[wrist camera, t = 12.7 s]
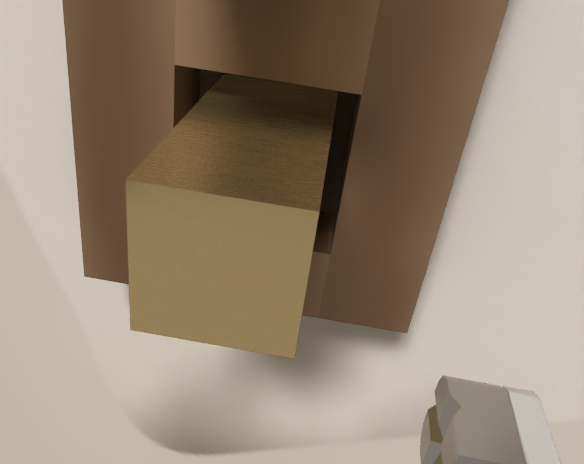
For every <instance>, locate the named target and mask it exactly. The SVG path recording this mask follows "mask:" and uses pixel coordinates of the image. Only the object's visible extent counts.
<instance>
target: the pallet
mask: <svg viewBox="0 0 584 464" xmlns="http://www.w3.org/2000/svg"><path fill="white" fill-rule="evenodd" d="M508 2H509V0H63V13H64V25H65V38H66V50H67V63H68V75H69V88H70V101H71V113H72V126H73V138H74V151H75V164H76V176H77V189H78V201H79V214H80V226H81V239H82V252H83V264H84V276H85V277H91V278H96V279H102V280H108V281H113V282H119V283H125V284H129V270H128V240H127V211H126V182H125V180H126V179H127V178H128V177H129V175H130V174H131V173H132V172H133V171H134V170H135V169H136V168H137V167H138V166H139V165H140V164H141V163H142V161H143V160H144V159H145V158H146V157H147V156H148V155H149V154H150V153H151V152H152V151H153V150H154V149H155V147H156V146H157V145H158V144H159V143H160V142H161V141H162V140H163V139H164V138H165V137H166V136H167V135H168V134H169V132H170V131H171V130H172V129H173V128H174V127H175V126H176V125H177V124H178V123H179V122H180V121H181V120H182V118H183V117H184V116H185V115H186V114H187V113H188V112H189V111H190V110H191V109H192V108H193V107H194V106H195V105H196V103H197V102H198V101H199V89H200V69H204V70H210V71H216V72H223V73H229V74H235V75H241V76H248V77H254V78H260V79H266V80H272V81H279V82H285V83H291V84H297V85H304V86H310V87H316V88H322V89H329V90H335V91H341V92H347V93H353V94H358V95H357V100H356V105H355V110H354V116H353V121H352V126H351V131H350V136H349V142H348V147H347V152H346V157H345V163H344V168H343V173H342V178H341V184H340V189H339V194H338V199H337V204H336V210H335V214H334V213H328V212H322V211H319V217H318V223H317V229H316V235H315V241H314V246H313V252H312V258H311V264H310V270H309V276H308V282H307V288H306V293H305V299H304V305H303V311H302V315H306V316H312V317H318V318H323V319H329V320H335V321H340V322H346V323H352V324H357V325H363V326H369V327H374V328H380V329H386V330H391V331H397V332H403V333H407V331H408V328H409V325H410V322H411V318H412V315H413V312H414V309H415V305H416V302H417V299H418V295H419V292H420V289H421V286H422V282H423V279H424V276H425V273H426V269H427V266H428V263H429V260H430V256H431V253H432V250H433V247H434V243H435V240H436V237H437V234H438V230H439V227H440V224H441V220H442V217H443V214H444V211H445V207H446V204H447V201H448V198H449V194H450V191H451V188H452V185H453V181H454V178H455V175H456V172H457V168H458V165H459V162H460V158H461V155H462V152H463V149H464V145H465V142H466V139H467V136H468V132H469V129H470V126H471V123H472V119H473V116H474V113H475V110H476V106H477V103H478V100H479V97H480V93H481V90H482V87H483V83H484V80H485V77H486V74H487V70H488V67H489V64H490V61H491V57H492V54H493V51H494V48H495V44H496V41H497V38H498V35H499V31H500V28H501V25H502V21H503V18H504V15H505V12H506V8H507V5H508Z"/></svg>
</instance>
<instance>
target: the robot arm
mask: <svg viewBox="0 0 584 464" xmlns="http://www.w3.org/2000/svg"><path fill="white" fill-rule="evenodd" d="M435 399H436V405H435V406H433V407H432V408H430V409H428V411H427V414H426V417H425V420H424V423H423V428H422V434H421V446H420V455H421V464H561V461H560V459H559V456H558V452H557V449H556V447H555V444H554V441H553V438H552V435H551V432H550V429H549V426H548V423H547V420H546V417H545V414H544V411H543V408H542V405H541V402H540V399H539V397H538V395H537V394H536V393H535V392H533V391H527V390H522V389H516V388H510V387H505V386H503V387H501V386H498V385H492V384H487V383H481V382H476V381H471V380H465V379H460V378H454V377H449V376H444V375H443V376H442V377H441V379H440V380H439V382H438V384H437V387H436V389H435Z"/></svg>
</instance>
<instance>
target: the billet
mask: <svg viewBox="0 0 584 464" xmlns="http://www.w3.org/2000/svg"><path fill="white" fill-rule="evenodd" d="M337 97H338V91H331V90H325V89H319V88H312V87H306V86H300V85H293V84H287V83H280V82H274V81H268V80H261V79H255V78H248V77H242V76H236V75H229V74H223V75H222V77H221V78H220V79H219V80H218V81H217V82H216V83H215V84H214V85H213V86H212V87H211V88H210V89H209V91H208V92H207V93H206V94H205V95H204V96H203V97H202V98H201V99H200V100H199V101H198V102H197V103H196V105H195V106H194V107H193V108H192V109H191V110H190V111H189V112H188V113H187V114H186V115H185V116H184V117H183V118H182V120H181V121H180V122H179V123H178V124H177V125H176V126H175V127H174V128H173V129H172V130H171V131H170V132H169V134H168V135H167V136H166V137H165V138H164V139H163V140H162V141H161V142H160V143H159V144H158V145H157V146H156V147H155V149H154V150H153V151H152V152H151V153H150V154H149V155H148V156H147V157H146V158H145V159H144V160H143V161H142V163H141V164H140V165H139V166H138V167H137V168H136V169H135V170H134V171H133V172H132V173H131V174H130V175H129V177H128V178H127V179H126V180H125V182H126V211H127V240H128V270H129V299H130V328H131V330H134V331H139V332H145V333H151V334H156V335H162V336H168V337H173V338H179V339H185V340H190V341H196V342H202V343H207V344H213V345H219V346H224V347H230V348H236V349H242V350H247V351H253V352H259V353H264V354H270V355H276V356H281V357H287V358H293V359H294V358H295V352H296V346H297V340H298V335H299V329H300V323H301V317H302V311H303V305H304V299H305V293H306V288H307V282H308V276H309V270H310V264H311V258H312V252H313V246H314V241H315V235H316V229H317V223H318V217H319V211H320V205H321V198H322V192H323V186H324V179H325V173H326V167H327V160H328V154H329V148H330V141H331V135H332V128H333V122H334V116H335V109H336V103H337Z"/></svg>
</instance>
